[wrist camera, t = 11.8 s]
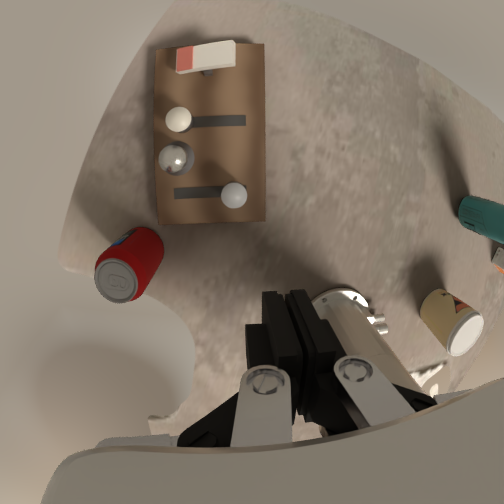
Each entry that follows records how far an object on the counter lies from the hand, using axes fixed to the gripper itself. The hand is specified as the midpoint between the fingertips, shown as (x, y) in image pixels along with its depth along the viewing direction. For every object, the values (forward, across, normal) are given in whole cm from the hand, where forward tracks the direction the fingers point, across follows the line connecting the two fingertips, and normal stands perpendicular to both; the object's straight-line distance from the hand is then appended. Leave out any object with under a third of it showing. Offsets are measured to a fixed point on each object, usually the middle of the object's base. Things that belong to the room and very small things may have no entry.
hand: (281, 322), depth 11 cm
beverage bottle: (+29, -41, 0) cm, 50 cm away
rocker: (+24, +4, -19) cm, 31 cm away
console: (+29, +4, -10) cm, 31 cm away
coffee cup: (+29, -38, +20) cm, 52 cm away
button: (+25, +8, -6) cm, 27 cm away
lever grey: (+26, +2, -2) cm, 26 cm away
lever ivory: (+26, +8, -11) cm, 29 cm away
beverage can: (+29, +15, +6) cm, 33 cm away
